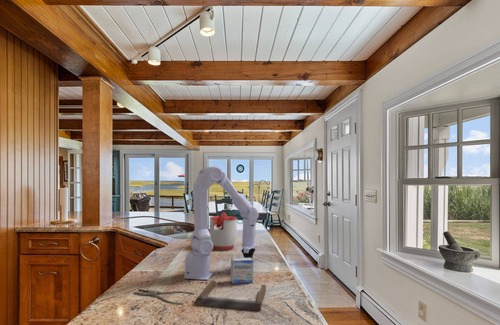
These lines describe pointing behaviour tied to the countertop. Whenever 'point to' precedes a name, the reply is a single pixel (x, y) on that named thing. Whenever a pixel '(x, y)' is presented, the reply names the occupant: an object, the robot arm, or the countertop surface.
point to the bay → (230, 303)
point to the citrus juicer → (223, 231)
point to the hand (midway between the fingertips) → (248, 265)
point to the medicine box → (241, 270)
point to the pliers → (154, 293)
